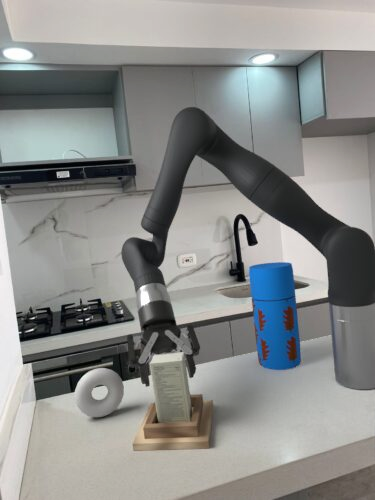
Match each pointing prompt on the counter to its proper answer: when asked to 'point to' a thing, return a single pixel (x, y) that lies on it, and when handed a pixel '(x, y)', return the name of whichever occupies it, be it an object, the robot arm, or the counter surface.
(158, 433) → the wooden square holder
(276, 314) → the thermos
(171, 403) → the skincare box
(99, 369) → the donut
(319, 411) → the counter surface
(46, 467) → the counter surface
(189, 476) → the counter surface
